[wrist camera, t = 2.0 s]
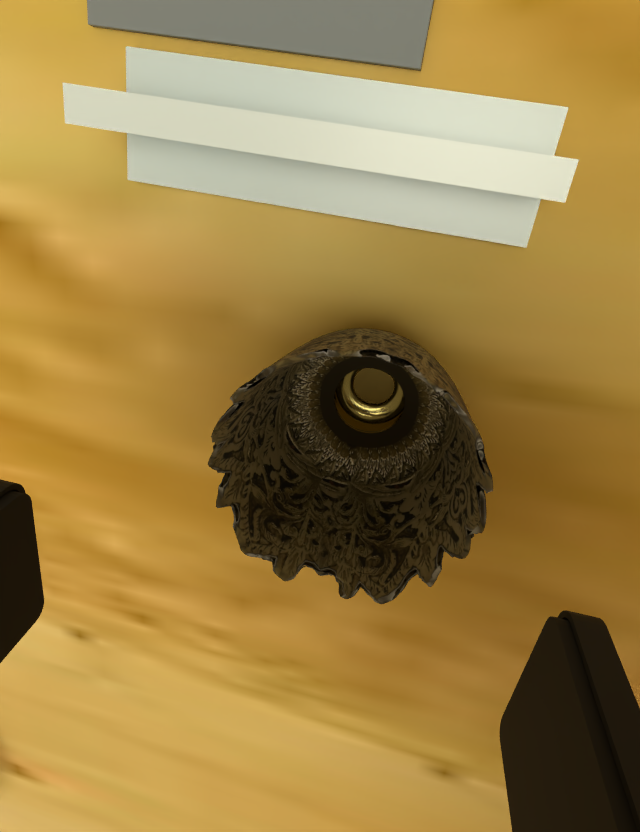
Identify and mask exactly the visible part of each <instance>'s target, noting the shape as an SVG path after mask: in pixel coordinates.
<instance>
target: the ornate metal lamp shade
mask: <svg viewBox="0 0 640 832" xmlns="http://www.w3.org/2000/svg"><path fill="white" fill-rule="evenodd" d="M363 368H374V369H378V370H382V371H384V372H386V373H388V374H389V375H391V376H392V377H393V380H394V384H395V388H394V392H393V395H392V396H391V398H390V399H389V400H388V401H386V402H385V403H382V404H379V405H370V404H366V403H364V402H362V401H361V400H360V399H359V398H358V397H357V396H356V394H355V392H354V389H353V381H354V378H355V376H356V374H357V373H358V372H359V371H360V370H361V369H363ZM230 399H231V400H232V401H233V405H232V406H231V407H230V408H229V409H228V410H227V411H226V413H225V414H224V415H223V416H222V417H221V418H220V420H219V421H218V423H217V424H216V426H215V428H214V430H213V433H212V442H215V445H214V446H213V450H214V451H213V453H212V455H211V457H210V459H209V462H208V465H209V467H211V468H212V469H214V470H217V473H225V475H224V477H223V479H222V482H221V484H220V485H219V490H218V496H217V500H216V507H217V508H222V507H226V506H231V507H232V510H233V514H234V523H233V528H234V531H235V533H236V536H237V539H238V542H239V545H240V549H241V551H242V552H243V553H244V554H245V555H247V556H251V557H258V558H262V559H263V560H268V561H272V564H273V571H274V573H275V574H276V575H277V576H278V577H280V578H281V579H282V580H283V581H289V580H292V579H294V578H295V576H296V575H297V574H298V572H299V571H300V570H301V569H302V568H303V567H306V566H307V567H310V568H313V569H314V570H315V571H316V573H317V574H318V575H320V576H323V575H330V574H331V576H332V575H334V577H335V579H336V581H337V582H338V583H339V594H340V597H342V598H344V599H349V598H351V597H353V596H354V595H355V594H356V593H357V591H358V590H359V588H360V587H361V588H362V589H364V591H365V592H366V593H367V594H368V595H369V596H370V597H372V598H373V600H374V601H375V602H377V603H379V604H384V603H387V602H389V601H391V600H393V599H394V598H396V597H397V596H398V595H399V594H400V593H401V592H402V591H403V589H404V588H405V586H406V585H407V583H408V581H409V580H410V579H411V578H412V577H414V576H415V575H417V574H418V575H419V578H421V579H422V581H424V582H425V583H426V584H427V585H428V586H429V587H431V586H432V585H433V584H434V582H435V581H436V580H437V577H438V575H439V573H440V572H441V570H442V566H441V565H442V564H441V563H442V558H443V553H444V551H445V552H447V553H448V554H449V555H450V556H451V557H457V558H460V559H463V558H466V556H467V555H468V553H469V550H470V544H471V538H473V537H474V534H473V533H475V534H478V533H482V532H483V530H484V528H485V524H486V499H485V494H484V490H485V491H486V493H488V492H490V491H493V480H492V475H491V472H490V470H489V467H488V465H487V462H486V458H485V454H484V445H483V442H482V439H481V436H480V434H479V432H478V430H477V428H476V426H475V424H474V423H473V421H472V419H471V417H470V414H469V412H468V410H467V408H466V406H465V404H464V402H463V399H462V397H461V395H460V394H459V392H458V390H457V388H456V386H455V384H454V383H453V381H452V379H451V378H450V377H449V375H448V374H447V372H446V371H445V370H444V368H443V367H442V366H441V365H440V364H439V363H438V362H437V360H436V359H435V358H434V357H432V356H431V355H430V354H429V353H428V352H427V351H426V350H424V349H423V348H421V347H420V346H419V345H417V344H415V343H414V342H412V341H410V340H408V339H406V338H404V337H401V336H399V335H396V334H393V333H390V332H387V331H382V330H376V329H365V328H358V329H346V330H340V331H336V332H333V333H329V334H326V335H323V336H321V337H318V338H316V339H313V340H312V341H310V342H308V343H306V344H304V345H302V346H301V347H299V348H297V349H295V350H294V351H292V352H291V353H289V354H287V355H286V356H284V357H283V358H281V359H280V360H278V361H277V362H275V363H274V364H272V365H271V366H269V367H268V368H266V369H264V370H262V372H260V373H259V374H258V375H257V376H256V377H255V378H253V379H252V380H251V381H249V382H247V383H245V384H244V385H242V386H241V387H240V388H238V389H237V390H236V391H235V393H234V394H233V395H232V396H231V397H230ZM304 565H306V566H304ZM328 573H329V574H328Z"/></svg>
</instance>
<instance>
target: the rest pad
mask: <svg viewBox="0 0 640 832" xmlns="http://www.w3.org/2000/svg"><path fill="white" fill-rule="evenodd" d="M433 2H434V0H87V8H88V24H89V25H91V26H93V27H100V28H107V29H114V30H122V31H129V32H137V33H144V34H152V35H159V36H167V37H174V38H181V39H189V40H196V41H204V42H211V43H219V44H226V45H234V46H241V47H248V48H256V49H263V50H271V51H278V52H286V53H293V54H301V55H308V56H315V57H323V58H330V59H338V60H345V61H353V62H360V63H368V64H375V65H382V66H390V67H397V68H405V69H412V70H420V71H421V65H422V60H423V55H424V50H425V44H426V39H427V34H428V29H429V23H430V18H431V13H432V8H433Z"/></svg>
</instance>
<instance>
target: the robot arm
mask: <svg viewBox="0 0 640 832" xmlns="http://www.w3.org/2000/svg"><path fill="white" fill-rule="evenodd" d="M43 605H44V596H43V588H42V580H41V572H40V564H39V556H38V548H37V541H36V533H35V525H34V517H33V509H32V501H31V498H30V496H29V495H27V494H26V493H25V490H24V488H23V487H22V485H20V484H17V483H13V482H8V481H4V480H0V663H1V662H2V660H3V659H4V658H5V657H6V656H7V655H8V653H9V652H10V651H11V650H12V649H13V648H14V646H15V645H16V644H17V643H18V642H19V641H20V639H21V638H22V637H23V636H24V635H25V634H26V632H27V631H28V630H29V629H30V628H31V627H32V625H33V624H34V623H35V622H36V620H37V619H38V618H39V616H40V614H41V612H42V609H43ZM500 743H501V751H502V758H503V766H504V773H505V780H506V788H507V795H508V802H509V810H510V817H511V825H512V832H640V709H639V706H638V704H637V701H636V699H635V696H634V694H633V691H632V689H631V686H630V684H629V681H628V679H627V676H626V674H625V671H624V669H623V666H622V664H621V661H620V659H619V656H618V654H617V651H616V649H615V646H614V644H613V641H612V639H611V636H610V634H609V631H608V629H607V627H606V625H605V623H604V621H603V620H601V619H600V618H596V617H592V616H588V615H583V614H579V613H575V612H570V611H562V612H561V613H560V614H559V616H558V618H557V617H551V616H550V617H549V618H548V619H547V621H546V623H545V625H544V627H543V629H542V631H541V634H540V636H539V638H538V640H537V642H536V644H535V647H534V649H533V651H532V653H531V655H530V657H529V660H528V662H527V664H526V666H525V668H524V671H523V673H522V675H521V677H520V679H519V681H518V684H517V686H516V688H515V690H514V692H513V694H512V697H511V699H510V701H509V703H508V705H507V707H506V710H505V712H504V714H503V716H502V719H501V724H500Z"/></svg>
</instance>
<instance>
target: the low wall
mask: <svg viewBox="0 0 640 832" xmlns="http://www.w3.org/2000/svg"><path fill="white" fill-rule="evenodd" d="M126 90H127V92H122V91H116V90H109V89H102V88H95V87H89V86H82V85H75V84H69V83H63V96H64V113H65V123H67V124H74V125H80V126H86V127H93V128H99V129H105V130H111V131H118V132H124V133H127V160H128V180H131V181H137V182H143V183H149V184H155V185H161V186H167V187H173V188H178V189H184V190H190V191H196V192H202V193H208V194H214V195H220V196H225V197H231V198H237V199H243V200H249V201H255V202H261V203H267V204H272V205H278V206H284V207H290V208H296V209H302V210H308V211H314V212H319V213H325V214H331V215H337V216H343V217H349V218H355V219H361V220H366V221H372V222H378V223H384V224H390V225H396V226H402V227H408V228H413V229H419V230H425V231H431V232H437V233H443V234H449V235H455V236H460V237H466V238H472V239H478V240H484V241H490V242H496V243H502V244H507V245H513V246H519V247H525V248H526V247H527V244H528V241H529V237H530V234H531V231H532V227H533V224H534V221H535V217H536V214H537V211H538V207H539V204H540V201H541V199H546V200H552V201H558V202H564V203H565V201H566V198H567V195H568V192H569V189H570V186H571V183H572V179H573V176H574V173H575V170H576V167H577V164H578V161H579V160H578V159H572V158H565V157H558V156H554V154H555V151H556V148H557V144H558V141H559V138H560V134H561V131H562V128H563V124H564V121H565V118H566V114H567V111H568V108H569V107H563V106H556V105H548V104H541V103H534V102H527V101H519V100H512V99H505V98H498V97H490V96H483V95H476V94H469V93H461V92H454V91H447V90H440V89H432V88H425V87H418V86H411V85H403V84H396V83H389V82H382V81H374V80H367V79H360V78H353V77H345V76H338V75H331V74H324V73H316V72H309V71H302V70H295V69H288V68H280V67H273V66H266V65H259V64H251V63H244V62H237V61H230V60H222V59H215V58H208V57H201V56H193V55H186V54H179V53H172V52H164V51H157V50H150V49H143V48H135V47H128V46H126Z"/></svg>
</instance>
